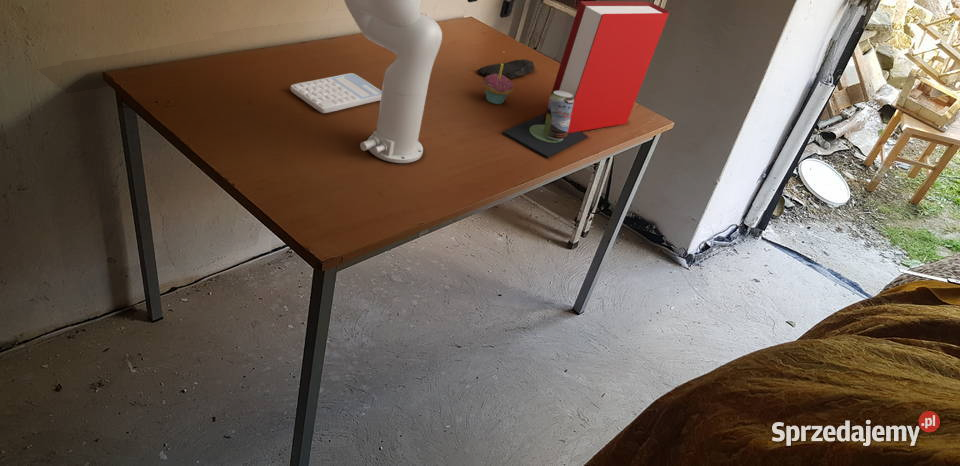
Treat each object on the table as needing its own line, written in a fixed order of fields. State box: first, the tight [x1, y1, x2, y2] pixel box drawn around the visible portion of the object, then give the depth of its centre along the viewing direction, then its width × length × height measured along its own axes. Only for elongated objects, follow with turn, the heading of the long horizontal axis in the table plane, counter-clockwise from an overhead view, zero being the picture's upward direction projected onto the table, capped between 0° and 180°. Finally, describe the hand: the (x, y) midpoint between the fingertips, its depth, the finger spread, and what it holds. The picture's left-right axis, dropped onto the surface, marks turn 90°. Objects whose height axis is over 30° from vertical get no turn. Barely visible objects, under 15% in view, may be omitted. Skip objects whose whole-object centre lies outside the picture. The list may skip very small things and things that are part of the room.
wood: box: [477, 59, 535, 80], centre depth 209 cm, size 22×7×3 cm, turn 133°
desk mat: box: [501, 113, 588, 159], centre depth 181 cm, size 20×14×1 cm
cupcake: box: [481, 61, 514, 105], centre depth 189 cm, size 9×8×12 cm
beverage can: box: [544, 90, 574, 140], centre depth 177 cm, size 6×7×12 cm
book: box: [543, 0, 670, 133], centre depth 185 cm, size 27×8×32 cm, turn 128°
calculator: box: [289, 72, 382, 114], centre depth 174 cm, size 13×20×2 cm, turn 138°
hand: (488, 8), depth 164 cm, fingers open, 9 cm apart
